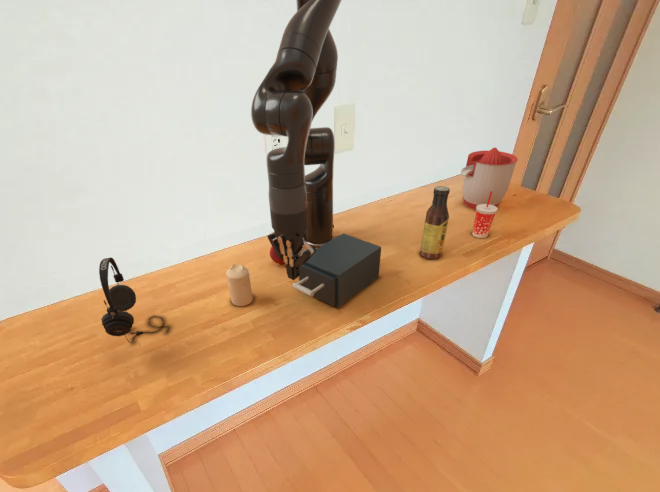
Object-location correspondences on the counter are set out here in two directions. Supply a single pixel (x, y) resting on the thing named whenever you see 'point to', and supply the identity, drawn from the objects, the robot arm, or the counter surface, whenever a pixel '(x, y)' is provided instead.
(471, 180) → the citrus juicer
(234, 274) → the candle
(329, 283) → the drawer
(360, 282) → the cabinet
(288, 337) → the counter surface
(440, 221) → the sauce bottle
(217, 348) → the counter surface
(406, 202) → the counter surface
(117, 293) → the headphones
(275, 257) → the onion
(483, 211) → the beverage cup
